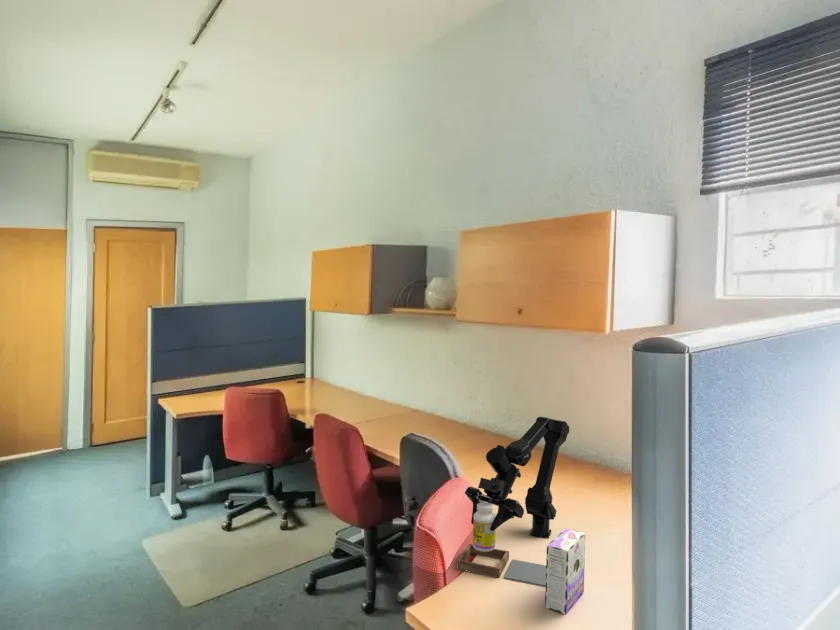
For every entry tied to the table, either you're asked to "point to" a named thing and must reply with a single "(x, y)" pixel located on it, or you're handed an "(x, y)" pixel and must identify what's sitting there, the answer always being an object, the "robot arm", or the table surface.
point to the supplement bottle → (483, 528)
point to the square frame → (481, 568)
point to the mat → (526, 572)
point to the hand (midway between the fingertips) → (481, 527)
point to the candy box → (565, 571)
